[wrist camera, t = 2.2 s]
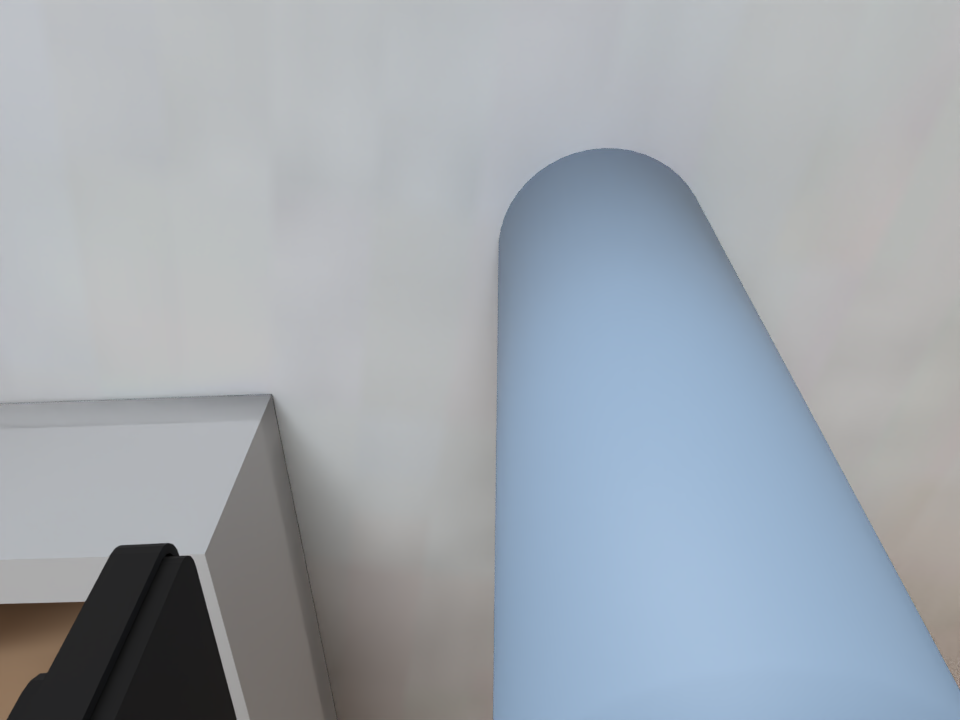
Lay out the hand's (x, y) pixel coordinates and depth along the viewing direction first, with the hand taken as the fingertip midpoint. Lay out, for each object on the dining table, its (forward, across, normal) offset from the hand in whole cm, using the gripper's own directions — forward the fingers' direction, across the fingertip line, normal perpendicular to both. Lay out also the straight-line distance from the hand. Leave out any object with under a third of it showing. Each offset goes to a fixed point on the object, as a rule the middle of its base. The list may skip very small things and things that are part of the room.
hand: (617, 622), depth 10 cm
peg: (+9, -1, -1) cm, 9 cm away
